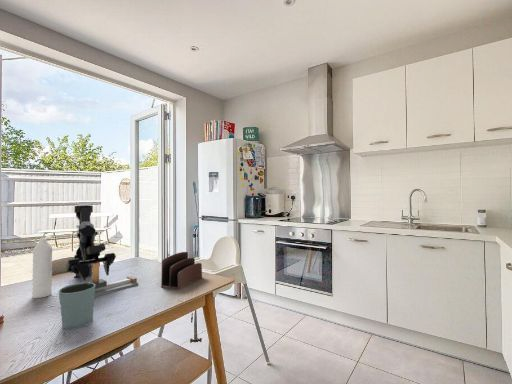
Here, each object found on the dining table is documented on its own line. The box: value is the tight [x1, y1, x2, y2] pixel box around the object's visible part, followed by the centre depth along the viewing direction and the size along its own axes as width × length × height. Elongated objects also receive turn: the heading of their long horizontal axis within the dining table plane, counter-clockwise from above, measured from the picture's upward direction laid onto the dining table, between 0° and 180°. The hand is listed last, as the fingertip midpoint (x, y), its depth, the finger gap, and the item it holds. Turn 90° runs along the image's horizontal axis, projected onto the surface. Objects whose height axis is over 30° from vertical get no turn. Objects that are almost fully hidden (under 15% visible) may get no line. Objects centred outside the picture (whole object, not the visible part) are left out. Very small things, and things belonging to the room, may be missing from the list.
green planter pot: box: [58, 282, 95, 330], centre depth 87 cm, size 10×10×12 cm
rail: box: [94, 275, 139, 298], centre depth 118 cm, size 26×9×3 cm, turn 140°
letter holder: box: [160, 251, 203, 291], centre depth 129 cm, size 10×20×14 cm, turn 159°
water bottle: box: [31, 235, 53, 299], centre depth 113 cm, size 9×6×25 cm
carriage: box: [84, 262, 108, 289], centre depth 115 cm, size 7×6×10 cm
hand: (96, 277), depth 114 cm, fingers open, 9 cm apart
